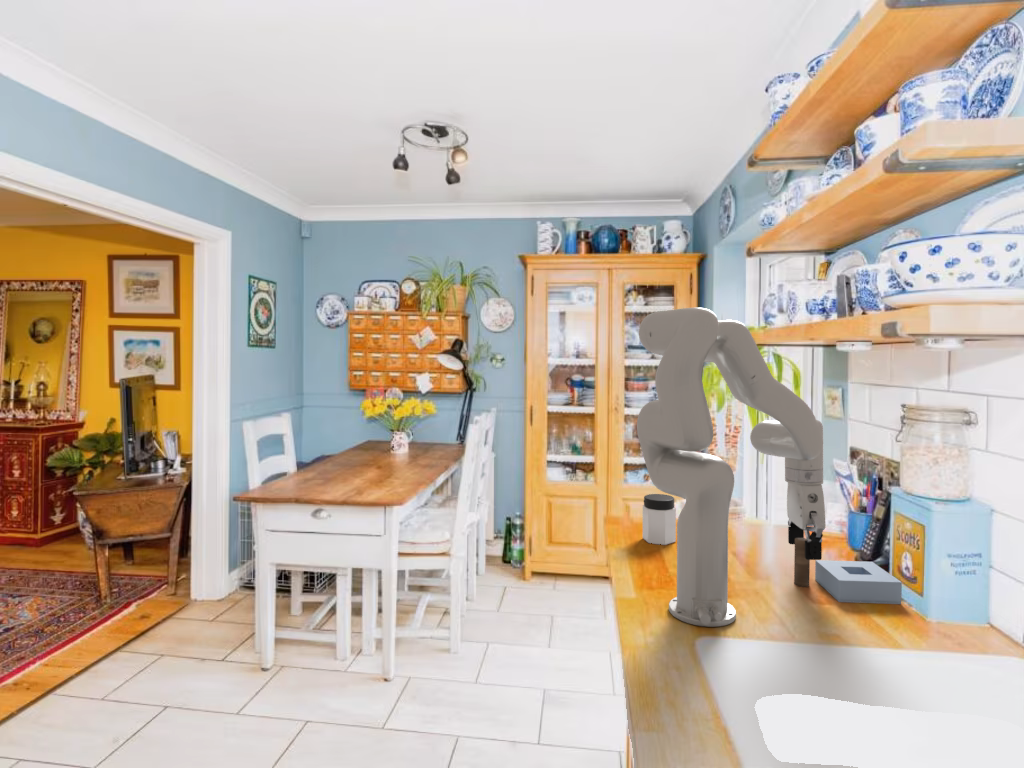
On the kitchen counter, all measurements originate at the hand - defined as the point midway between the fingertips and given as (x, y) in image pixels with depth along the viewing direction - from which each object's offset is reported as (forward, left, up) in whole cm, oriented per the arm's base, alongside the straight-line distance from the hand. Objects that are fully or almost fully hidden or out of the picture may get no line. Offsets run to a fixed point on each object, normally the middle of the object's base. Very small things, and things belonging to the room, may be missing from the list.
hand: (804, 551), depth 129 cm
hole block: (-3, -9, -7) cm, 12 cm away
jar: (+29, +28, -8) cm, 40 cm away
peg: (0, +1, -7) cm, 7 cm away
